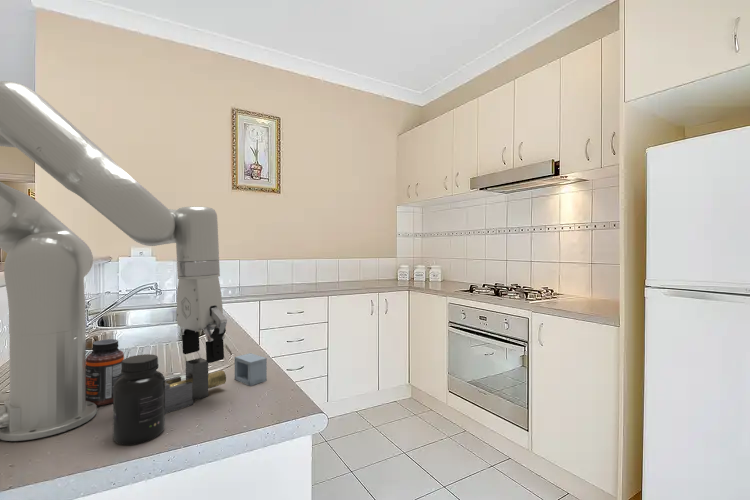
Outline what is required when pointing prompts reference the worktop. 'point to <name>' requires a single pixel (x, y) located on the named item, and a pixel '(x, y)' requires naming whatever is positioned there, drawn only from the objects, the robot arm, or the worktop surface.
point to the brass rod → (201, 378)
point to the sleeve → (177, 394)
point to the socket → (250, 369)
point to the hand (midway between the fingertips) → (202, 356)
